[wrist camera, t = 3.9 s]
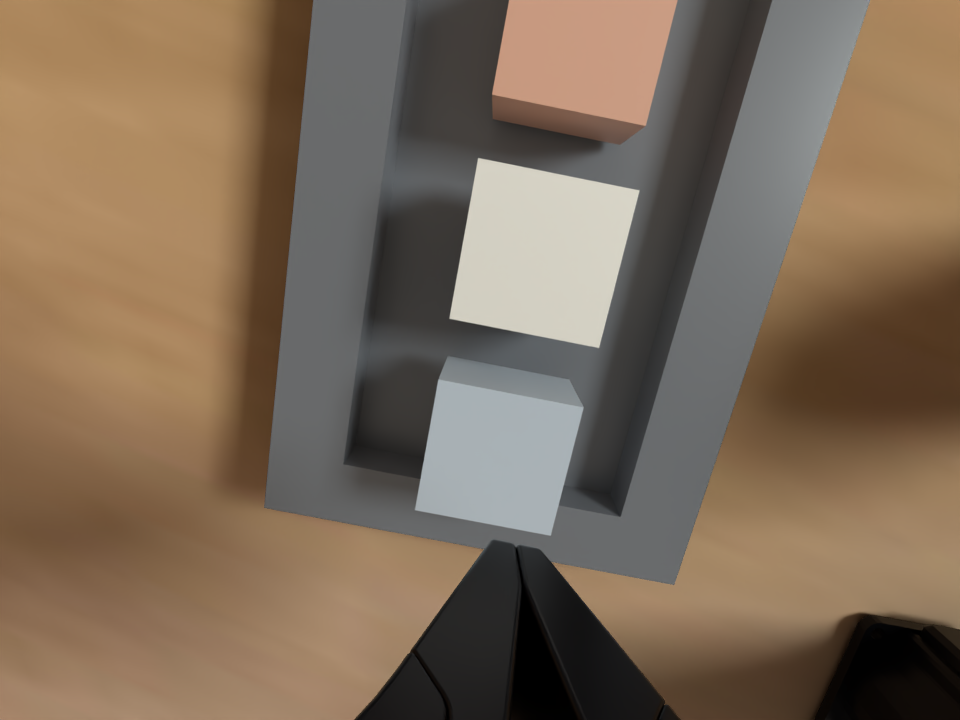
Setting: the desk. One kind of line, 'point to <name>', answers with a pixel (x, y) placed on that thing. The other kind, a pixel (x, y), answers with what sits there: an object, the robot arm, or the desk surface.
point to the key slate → (498, 445)
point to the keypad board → (592, 371)
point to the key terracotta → (581, 65)
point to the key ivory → (541, 252)
